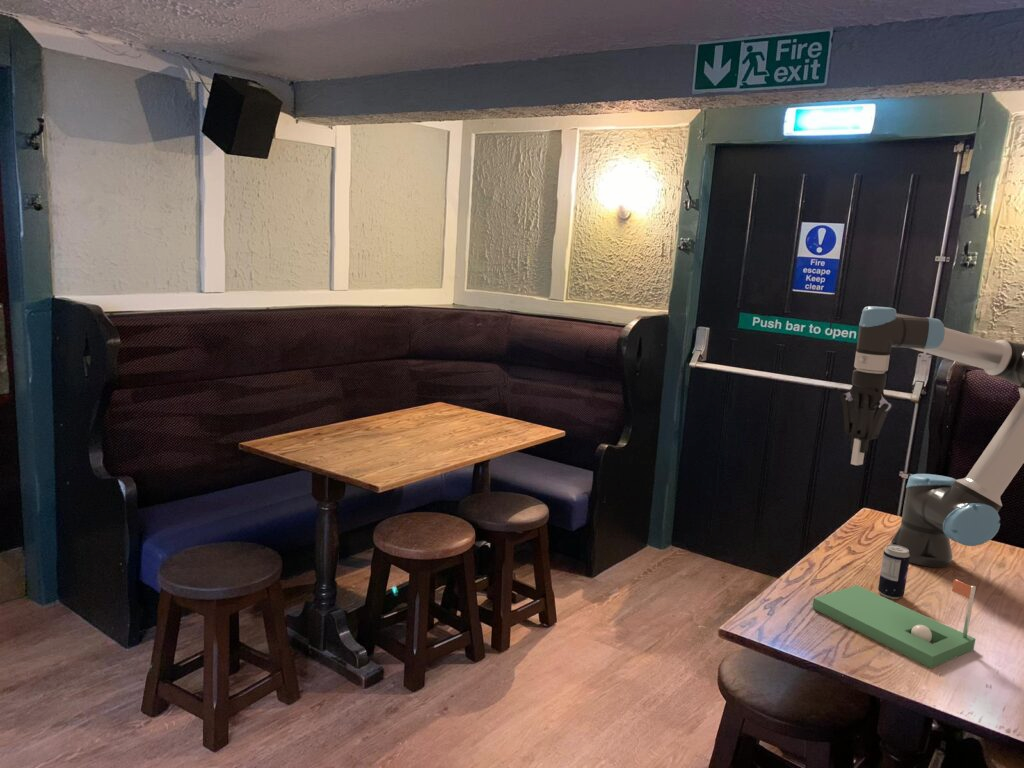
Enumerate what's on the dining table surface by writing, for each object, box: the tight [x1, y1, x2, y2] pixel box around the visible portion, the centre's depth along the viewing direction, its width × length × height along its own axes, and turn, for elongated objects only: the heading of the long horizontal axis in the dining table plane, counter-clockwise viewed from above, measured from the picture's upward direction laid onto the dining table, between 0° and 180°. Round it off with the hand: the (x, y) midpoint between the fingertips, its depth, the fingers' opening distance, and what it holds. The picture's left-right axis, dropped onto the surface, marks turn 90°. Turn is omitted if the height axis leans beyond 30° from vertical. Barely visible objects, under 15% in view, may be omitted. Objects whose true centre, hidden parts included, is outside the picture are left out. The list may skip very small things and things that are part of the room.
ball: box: [911, 625, 932, 643], centre depth 165 cm, size 4×4×4 cm
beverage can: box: [877, 544, 910, 600], centre depth 187 cm, size 6×6×12 cm
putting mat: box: [812, 584, 976, 669], centre depth 171 cm, size 16×28×2 cm, turn 32°
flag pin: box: [951, 579, 977, 638], centre depth 165 cm, size 1×4×14 cm, turn 32°
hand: (856, 464), depth 193 cm, fingers closed
